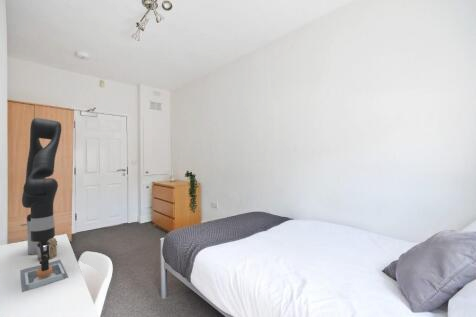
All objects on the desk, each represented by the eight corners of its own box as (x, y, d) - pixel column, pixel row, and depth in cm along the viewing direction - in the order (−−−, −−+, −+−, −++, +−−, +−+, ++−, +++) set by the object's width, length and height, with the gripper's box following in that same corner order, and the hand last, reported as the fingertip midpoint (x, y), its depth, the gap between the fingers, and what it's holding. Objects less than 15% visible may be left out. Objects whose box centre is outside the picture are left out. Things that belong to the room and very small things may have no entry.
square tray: (24, 277, 95) (24, 272, 95) (60, 267, 103) (59, 262, 103) (26, 290, 85) (26, 285, 85) (65, 278, 93) (64, 273, 93)
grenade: (45, 262, 110) (44, 231, 109) (33, 261, 111) (32, 230, 111) (60, 255, 117) (59, 226, 117) (49, 255, 118) (48, 226, 118)
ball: (51, 272, 98) (51, 261, 97) (53, 277, 94) (52, 265, 94) (36, 277, 94) (35, 265, 94) (37, 282, 90) (36, 269, 90)
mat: (20, 271, 101) (20, 270, 101) (60, 260, 111) (60, 259, 111) (22, 293, 84) (21, 292, 84) (68, 278, 94) (68, 277, 94)
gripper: (56, 228, 91) (58, 269, 92) (52, 222, 101) (53, 258, 102) (31, 233, 86) (32, 276, 86) (29, 225, 96) (30, 264, 96)
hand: (44, 266), depth 94 cm, fingers open, 8 cm apart
